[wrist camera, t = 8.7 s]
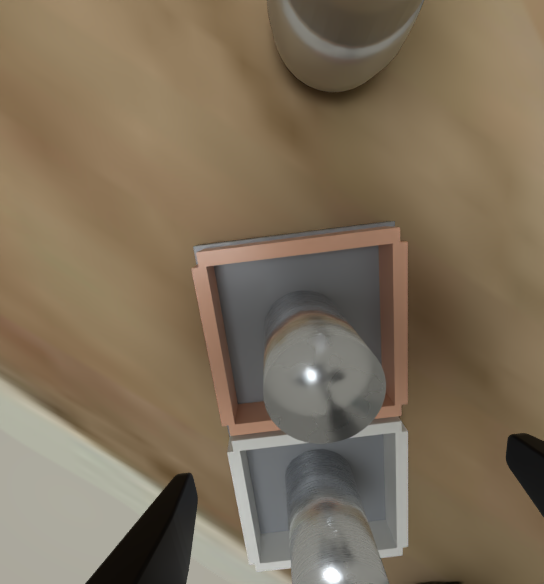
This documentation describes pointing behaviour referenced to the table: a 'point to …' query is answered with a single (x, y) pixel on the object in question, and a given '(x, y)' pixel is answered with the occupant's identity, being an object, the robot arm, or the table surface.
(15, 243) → the table surface
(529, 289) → the table surface
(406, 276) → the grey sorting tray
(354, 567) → the billet
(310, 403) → the steel billet
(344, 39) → the plastic bottle
